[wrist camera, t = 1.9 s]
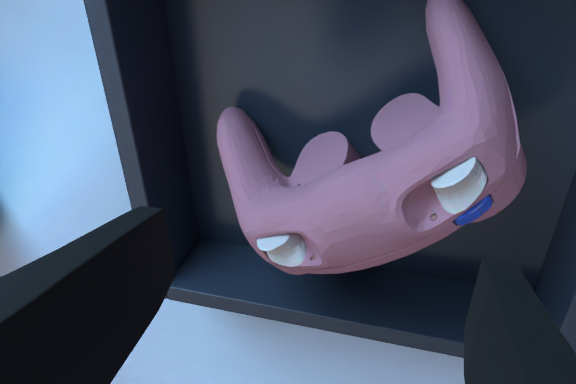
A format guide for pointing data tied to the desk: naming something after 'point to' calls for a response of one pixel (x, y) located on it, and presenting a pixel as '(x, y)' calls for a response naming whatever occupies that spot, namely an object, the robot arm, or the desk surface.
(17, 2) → the desk surface
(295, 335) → the desk surface
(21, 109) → the desk surface
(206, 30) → the bin
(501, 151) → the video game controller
